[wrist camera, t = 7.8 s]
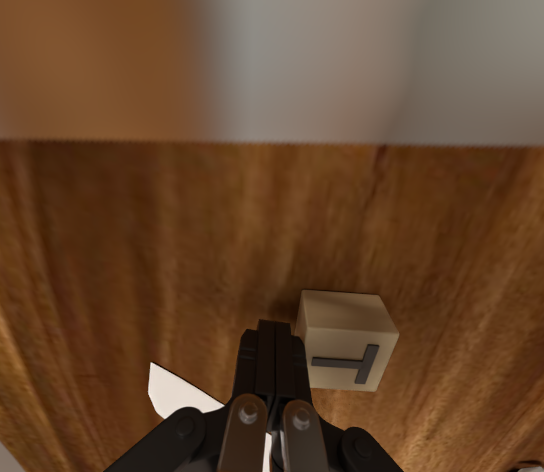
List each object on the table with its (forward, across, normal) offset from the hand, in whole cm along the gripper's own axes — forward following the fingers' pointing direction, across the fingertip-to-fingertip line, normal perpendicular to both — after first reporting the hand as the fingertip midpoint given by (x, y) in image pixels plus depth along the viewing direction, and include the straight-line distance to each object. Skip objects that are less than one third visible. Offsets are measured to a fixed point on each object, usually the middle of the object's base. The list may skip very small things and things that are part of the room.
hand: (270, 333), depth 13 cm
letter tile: (+2, -4, 0) cm, 4 cm away
